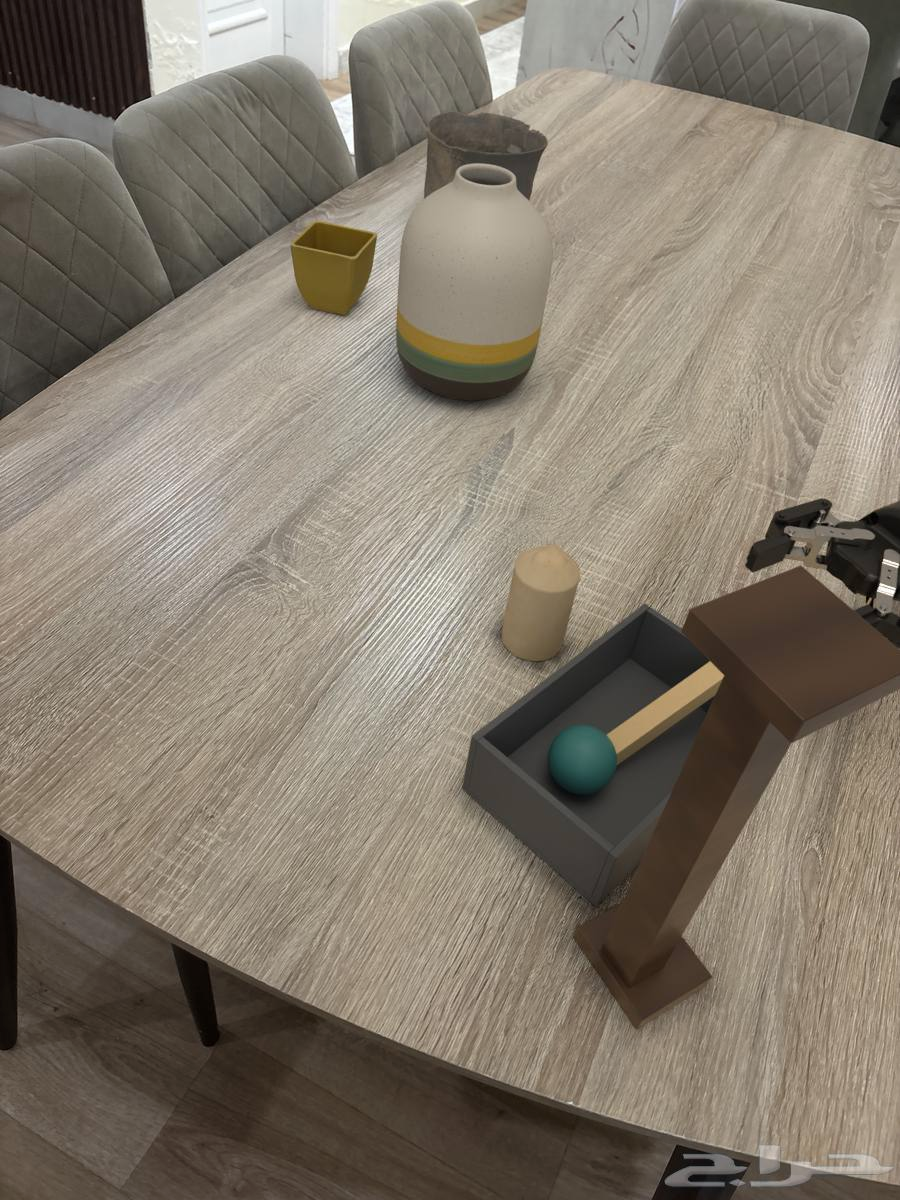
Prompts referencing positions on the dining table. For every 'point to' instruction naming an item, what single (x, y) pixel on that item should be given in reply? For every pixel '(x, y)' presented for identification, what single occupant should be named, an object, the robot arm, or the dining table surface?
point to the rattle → (624, 735)
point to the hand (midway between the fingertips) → (789, 595)
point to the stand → (734, 767)
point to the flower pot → (332, 265)
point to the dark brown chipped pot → (481, 148)
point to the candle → (540, 602)
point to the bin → (606, 700)
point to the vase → (472, 285)
